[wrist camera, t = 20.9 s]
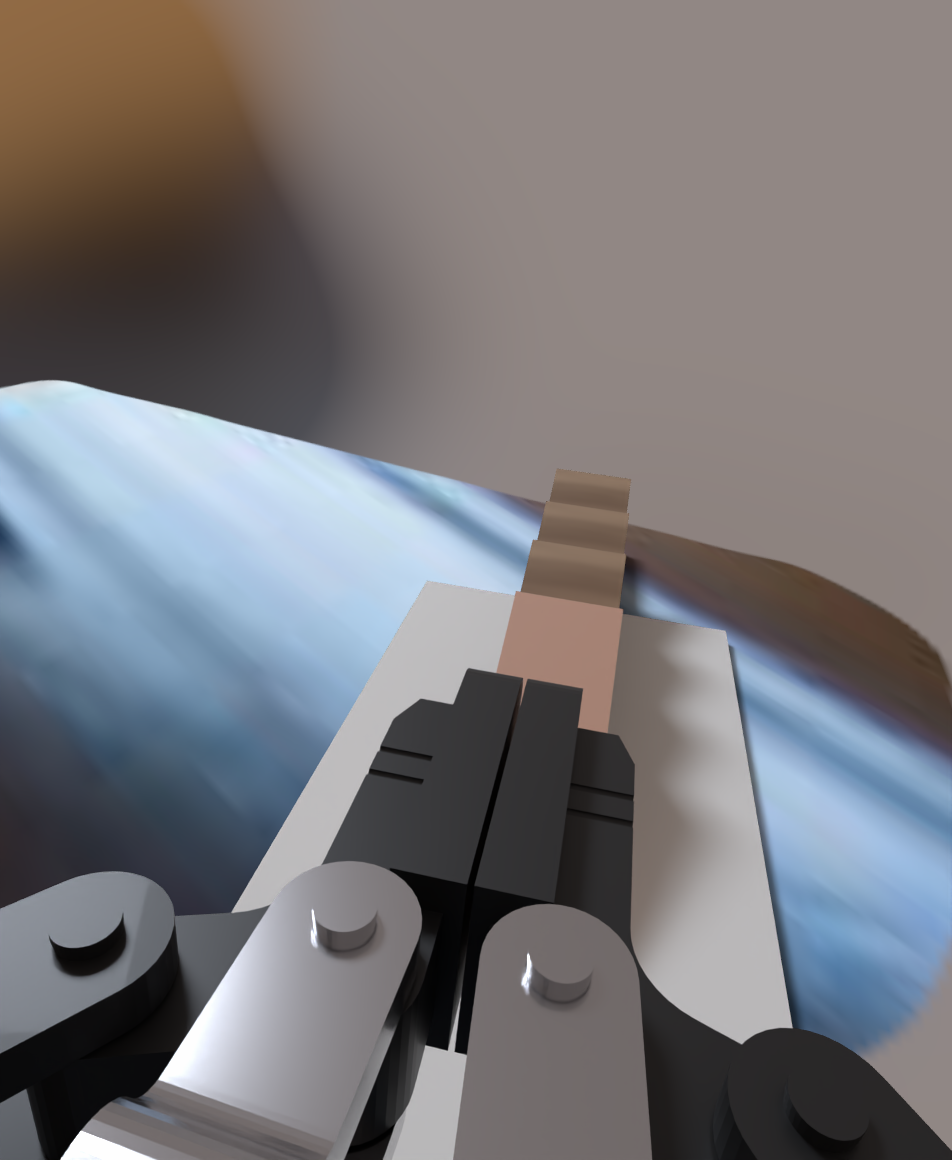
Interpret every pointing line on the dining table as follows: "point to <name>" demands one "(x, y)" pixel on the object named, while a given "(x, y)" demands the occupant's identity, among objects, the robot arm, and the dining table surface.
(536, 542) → the domino
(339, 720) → the dining table surface
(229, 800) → the dining table surface
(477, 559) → the dining table surface
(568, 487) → the domino
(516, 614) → the loose domino
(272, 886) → the mat
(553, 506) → the domino
